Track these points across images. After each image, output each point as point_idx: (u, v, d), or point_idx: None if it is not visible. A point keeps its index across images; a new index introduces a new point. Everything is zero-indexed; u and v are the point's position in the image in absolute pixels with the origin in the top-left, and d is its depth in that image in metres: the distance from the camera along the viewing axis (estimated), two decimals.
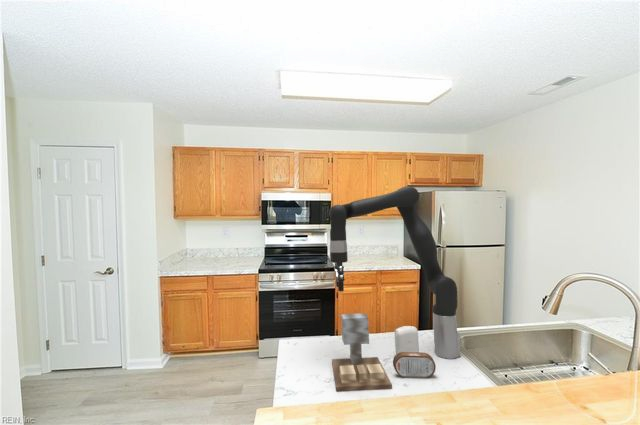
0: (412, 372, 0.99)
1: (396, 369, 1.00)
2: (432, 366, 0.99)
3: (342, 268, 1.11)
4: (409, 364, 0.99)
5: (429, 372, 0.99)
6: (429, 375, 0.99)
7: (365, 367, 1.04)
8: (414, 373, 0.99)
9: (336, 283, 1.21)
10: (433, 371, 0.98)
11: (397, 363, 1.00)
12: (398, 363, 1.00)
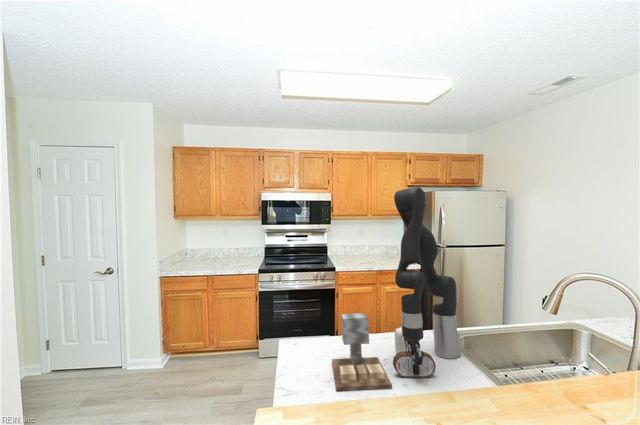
0: (412, 372, 0.99)
1: (396, 369, 1.00)
2: (432, 365, 0.99)
3: (422, 354, 0.94)
4: (409, 363, 0.99)
5: (429, 371, 0.99)
6: (429, 375, 0.99)
7: (365, 367, 1.04)
8: None
9: None
10: (433, 371, 0.98)
11: (397, 363, 1.00)
12: (398, 362, 1.00)
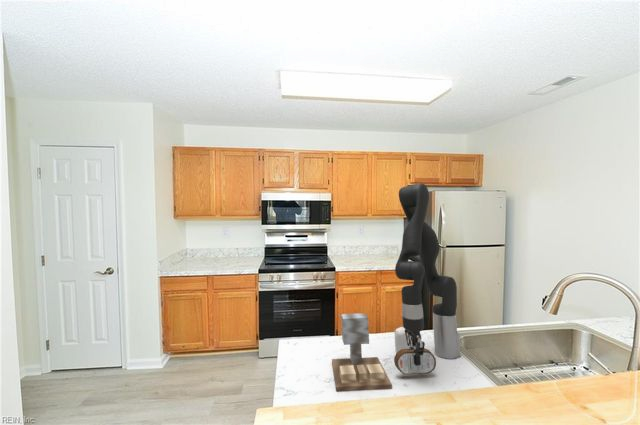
0: (414, 369, 0.99)
1: (398, 367, 0.99)
2: (433, 361, 0.99)
3: (423, 345, 0.94)
4: (411, 360, 0.99)
5: (430, 367, 0.99)
6: (430, 370, 0.99)
7: (365, 367, 1.04)
8: (416, 370, 0.99)
9: None
10: (434, 366, 0.99)
11: (399, 360, 0.99)
12: (400, 360, 0.99)
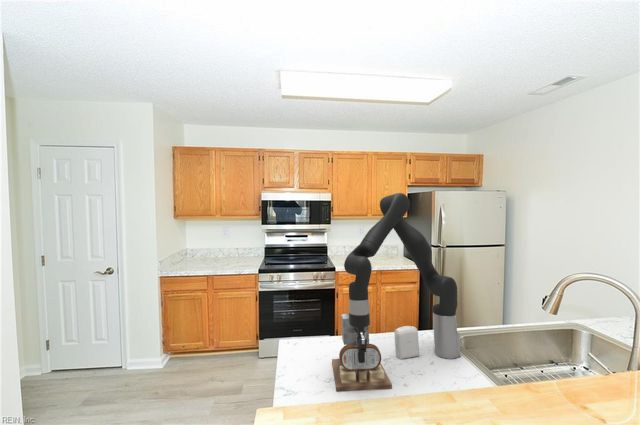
0: (358, 364, 0.96)
1: (342, 362, 0.96)
2: (378, 357, 0.97)
3: (365, 342, 0.92)
4: (355, 356, 0.97)
5: (375, 363, 0.97)
6: (375, 366, 0.96)
7: None
8: (360, 365, 0.96)
9: None
10: (379, 362, 0.97)
11: (343, 356, 0.96)
12: (344, 355, 0.97)
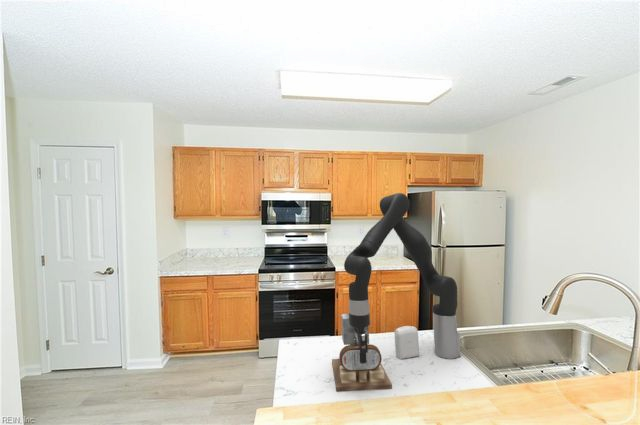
0: (358, 365, 0.96)
1: (342, 363, 0.96)
2: (378, 358, 0.96)
3: (365, 337, 0.92)
4: (355, 357, 0.96)
5: (375, 364, 0.96)
6: (375, 367, 0.96)
7: None
8: (360, 366, 0.96)
9: None
10: (379, 363, 0.96)
11: (343, 357, 0.96)
12: (344, 356, 0.96)
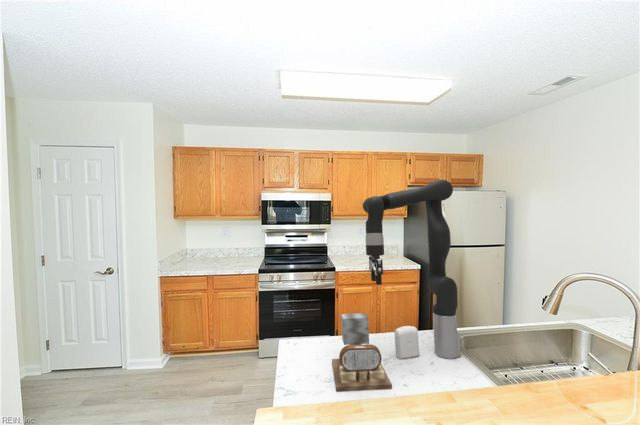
0: (358, 365, 0.96)
1: (342, 363, 0.96)
2: (378, 358, 0.96)
3: (381, 261, 1.08)
4: (355, 357, 0.96)
5: (375, 364, 0.96)
6: (375, 367, 0.96)
7: None
8: (360, 366, 0.96)
9: (371, 277, 1.18)
10: (379, 363, 0.96)
11: (343, 357, 0.96)
12: (344, 356, 0.96)
